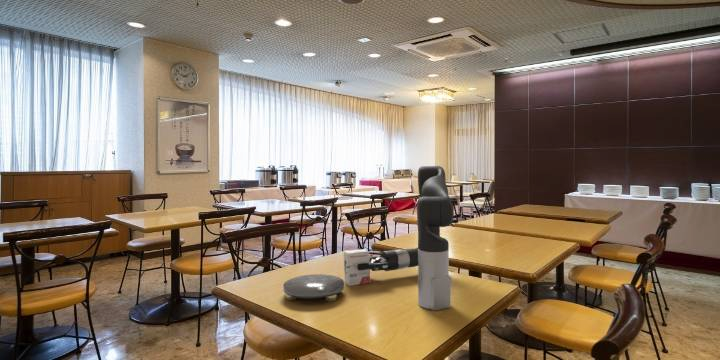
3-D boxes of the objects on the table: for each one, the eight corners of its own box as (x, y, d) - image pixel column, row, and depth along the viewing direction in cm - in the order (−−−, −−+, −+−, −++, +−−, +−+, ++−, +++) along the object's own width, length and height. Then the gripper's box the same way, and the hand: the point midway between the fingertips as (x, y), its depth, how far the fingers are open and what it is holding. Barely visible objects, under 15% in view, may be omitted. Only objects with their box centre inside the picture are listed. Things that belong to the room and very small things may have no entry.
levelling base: (353, 300, 122) (352, 285, 121) (291, 310, 114) (290, 294, 114) (332, 282, 140) (332, 269, 140) (278, 290, 132) (277, 276, 132)
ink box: (365, 279, 143) (365, 248, 143) (370, 283, 139) (370, 251, 138) (343, 282, 140) (343, 250, 140) (348, 286, 136) (347, 253, 135)
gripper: (386, 246, 152) (347, 250, 145) (404, 254, 139) (362, 259, 132) (386, 265, 152) (347, 270, 146) (404, 274, 139) (362, 280, 132)
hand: (354, 265), depth 139 cm, fingers open, 6 cm apart
